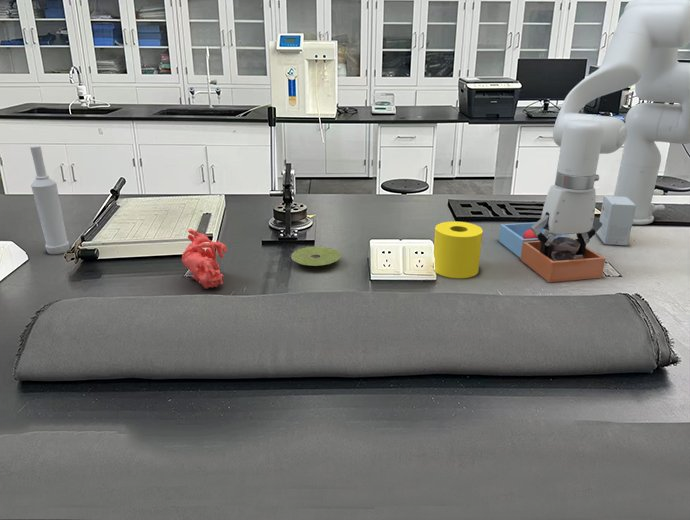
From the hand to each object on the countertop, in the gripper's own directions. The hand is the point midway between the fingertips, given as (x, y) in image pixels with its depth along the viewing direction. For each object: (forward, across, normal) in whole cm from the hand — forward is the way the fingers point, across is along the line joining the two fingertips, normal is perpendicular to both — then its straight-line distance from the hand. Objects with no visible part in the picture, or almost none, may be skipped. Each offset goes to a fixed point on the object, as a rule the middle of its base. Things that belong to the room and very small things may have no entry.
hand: (561, 258), depth 118 cm
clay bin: (+2, 0, 0) cm, 2 cm away
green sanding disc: (+3, +53, -13) cm, 55 cm away
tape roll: (+3, +23, -4) cm, 23 cm away
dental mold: (+1, -1, 0) cm, 2 cm away
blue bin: (+2, 0, -13) cm, 13 cm away
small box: (+3, -23, -14) cm, 27 cm away
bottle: (+3, +113, -32) cm, 117 cm away
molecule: (+2, 0, -13) cm, 13 cm away
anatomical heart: (+3, +77, -7) cm, 77 cm away
